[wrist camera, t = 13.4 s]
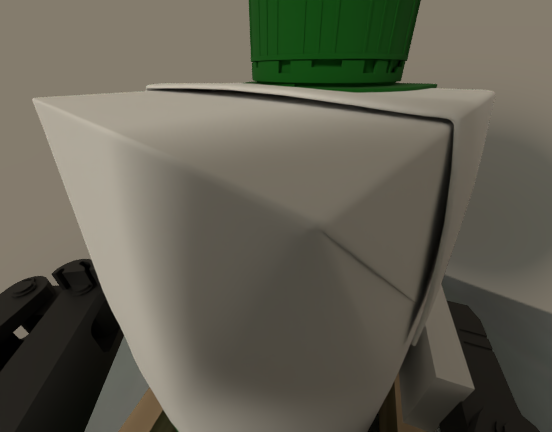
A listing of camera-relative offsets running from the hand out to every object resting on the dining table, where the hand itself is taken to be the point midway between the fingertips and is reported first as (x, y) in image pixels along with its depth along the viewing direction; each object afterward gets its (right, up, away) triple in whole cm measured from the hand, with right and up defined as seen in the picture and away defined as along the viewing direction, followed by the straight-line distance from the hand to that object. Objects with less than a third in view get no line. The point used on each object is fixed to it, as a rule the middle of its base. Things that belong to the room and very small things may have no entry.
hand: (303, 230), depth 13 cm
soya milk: (-2, -12, +2) cm, 12 cm away
